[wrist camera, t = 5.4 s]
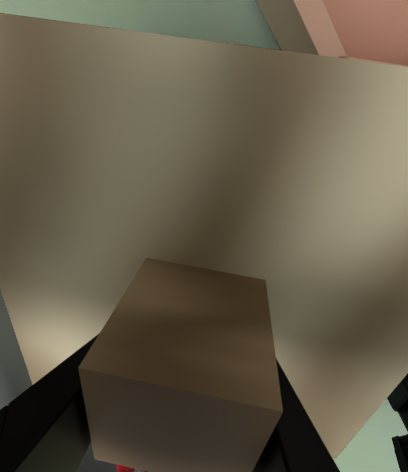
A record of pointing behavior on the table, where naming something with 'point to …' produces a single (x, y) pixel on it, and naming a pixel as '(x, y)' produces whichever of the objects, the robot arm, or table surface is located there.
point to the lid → (203, 235)
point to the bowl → (341, 28)
